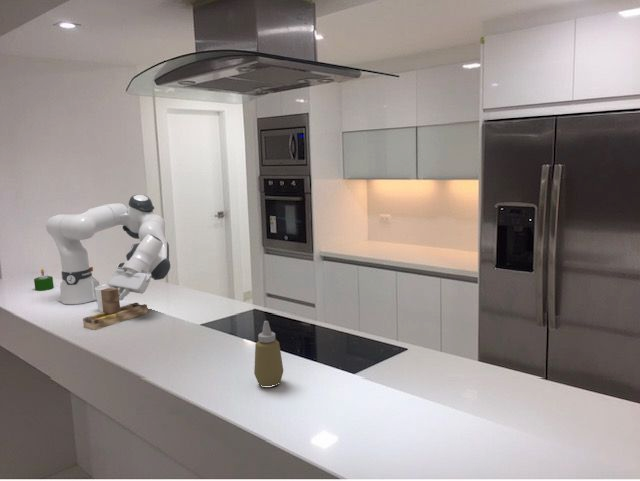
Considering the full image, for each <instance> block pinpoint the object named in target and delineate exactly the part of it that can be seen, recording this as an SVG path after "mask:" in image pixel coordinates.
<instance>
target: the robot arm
mask: <svg viewBox="0 0 640 481" xmlns="http://www.w3.org/2000/svg"><path fill="white" fill-rule="evenodd" d="M154 210H155V206H154V205H153V201H152V200H151V198H150V197H149V196H147V195H145V194H134V195H132V196H131V197H130V198H129V201H128V207H127V206H126V205H125V204H123V203H122V202H121V203H120V202H117V203H116V202H115V203H105V204H103V205H99V206H96V207H91V208H88V209H87V210H86V211H85V212H83V213H77V214H67V213H66V214H65V213H64V214H63V213H61V214H60V213H59V214H56V215H53V216H51V217H49V218H48V219H47V222H46V224H45V228H46V231H47V233H48V234H49V235H50V236H51V238H53V241H54V242H55V245H56V247H57V250H58V252H59V257H60V264H61V280H62V281H61V282H60V284H59V288H60V290H59V291H60V292H59V293H60V298H58V299H57V300H58V301H57V302H59V303H62V304H64V305H78V304H79V305H80V304H85V303H90V302H92V301H95V302H96V301H97V299H96V293H95V287H97V286H101V285H100V282H99V281H100V280H98V279H97V278H96V277H95V276H93V273H92V272H93V271H94V267H93V266H90V263H89V254H88V251H87V249H86V248H85V247H84V246H83V244H82V242H81V241H83V240H88V239H91V238H93V237H94V236H95V235H96V233H99V232H102V231H105V230H107V229H111V228H114V227H116V226H122V230H123V231H124V232H126V234H127V235H128V236H129V237H131V238H133V239H137V240H139V241H140V243H134V244H132V246H131V248H130V250H129V251H128V252H127V254H126V255H125V257H126V261H124V262H119V263H118V264H117V265H116V269H115V270H114V271H113V272H112V273H111V275H110V277H109V279H108V280H107V285H109V286H110V287H112V288H117V289H118V293H119V301H123V300H124V299H125V297H127V296H128V295H130V293H136V294H141V295H142V294H144V293H145V292H146V290H147V289H148V288H149V284H150V282H151V279H153V280H155V281H157V280H159V281H160V280H163V279H165V278H166V276H167V275H168V274H169V272H170V269H171V262H170V245H169V242H168V241H167V239H166V236H165V231H166V222H165V220H164V218H163V217H162V216H161V215H159V214H156V213H154Z"/></svg>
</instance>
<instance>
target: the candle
mask: <svg viewBox="0 0 640 481" xmlns="http://www.w3.org/2000/svg"><path fill="white" fill-rule="evenodd" d="M40 273H41V274H40V275H38V276H37V277H35V278H33V283H34V289H35V291H37V292H45V291H50V290H54V288H55V286H54V278H53V276H50V275H48V274H45V271H44V268H42V269H41V270H40Z"/></svg>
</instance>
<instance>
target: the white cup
mask: <svg viewBox="0 0 640 481" xmlns="http://www.w3.org/2000/svg"><path fill="white" fill-rule="evenodd" d="M107 288H111V287H110V286H109V285H108V284H102V285H100V286H97V287H95V293H96V299H97V300H96V304H97V307H98V311H99V313H102V312H103V305H102V296H101V290H103V289H107Z"/></svg>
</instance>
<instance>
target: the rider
mask: <svg viewBox="0 0 640 481" xmlns="http://www.w3.org/2000/svg"><path fill="white" fill-rule="evenodd" d="M101 296H102V305H103V313H106V316H107V315H111V314H114V313H117V312H119V311H120V307H121V306H120V305H121V304H120V300H119V293H118V289H117V288H112V287H111V288H107V289H103V290H101Z"/></svg>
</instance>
